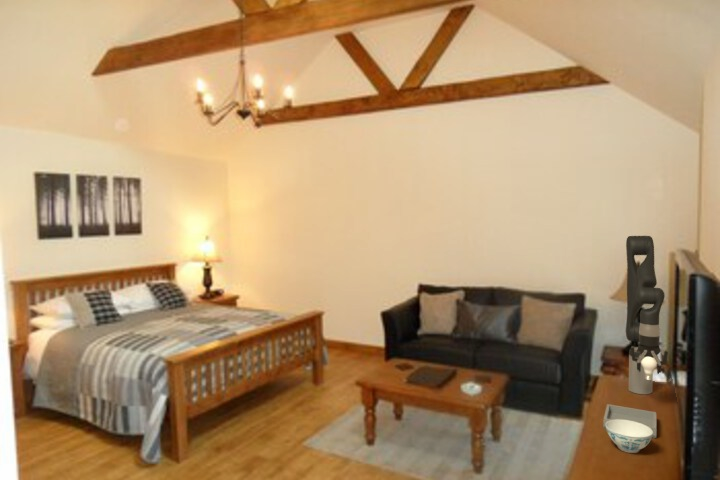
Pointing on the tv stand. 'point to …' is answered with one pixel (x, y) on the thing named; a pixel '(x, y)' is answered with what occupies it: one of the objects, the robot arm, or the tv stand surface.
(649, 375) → the lightbulb
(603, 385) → the tv stand surface
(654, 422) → the tray
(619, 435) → the chinaware
